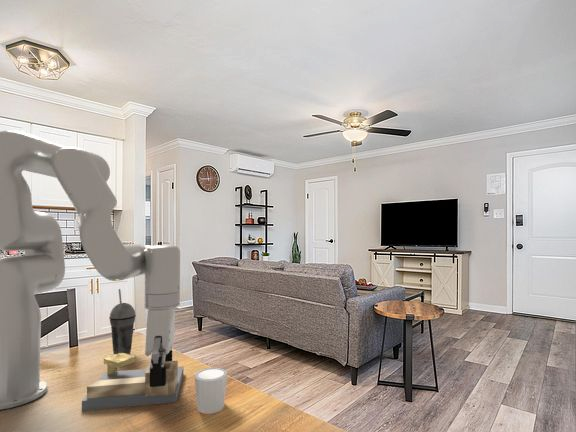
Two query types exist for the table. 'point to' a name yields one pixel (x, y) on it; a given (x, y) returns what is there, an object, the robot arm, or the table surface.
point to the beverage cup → (122, 327)
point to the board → (130, 399)
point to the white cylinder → (210, 389)
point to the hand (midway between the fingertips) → (161, 376)
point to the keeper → (117, 362)
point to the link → (135, 384)
